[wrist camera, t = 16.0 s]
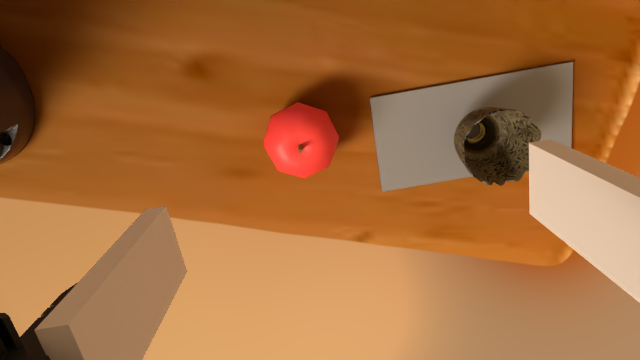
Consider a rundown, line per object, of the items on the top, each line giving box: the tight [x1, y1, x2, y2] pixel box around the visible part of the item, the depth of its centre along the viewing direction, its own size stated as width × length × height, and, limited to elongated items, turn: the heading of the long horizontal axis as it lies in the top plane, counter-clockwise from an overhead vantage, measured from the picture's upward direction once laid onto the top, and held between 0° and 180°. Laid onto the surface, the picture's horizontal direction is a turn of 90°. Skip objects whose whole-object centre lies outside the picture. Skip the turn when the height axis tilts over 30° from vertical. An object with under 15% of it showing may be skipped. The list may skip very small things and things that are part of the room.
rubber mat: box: [369, 62, 573, 192], centre depth 48 cm, size 22×11×1 cm, turn 100°
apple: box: [263, 102, 339, 179], centre depth 44 cm, size 8×8×8 cm
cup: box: [454, 107, 541, 186], centre depth 44 cm, size 8×7×8 cm
